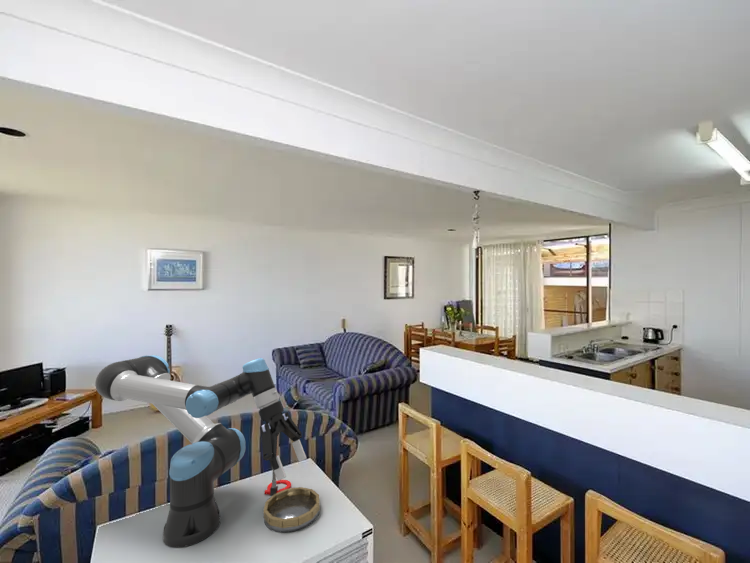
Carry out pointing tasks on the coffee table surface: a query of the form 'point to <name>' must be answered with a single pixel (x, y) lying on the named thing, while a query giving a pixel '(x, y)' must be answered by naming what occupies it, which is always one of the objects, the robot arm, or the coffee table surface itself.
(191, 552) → the coffee table surface
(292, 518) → the wooden rimmed bowl
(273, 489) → the tow hook
